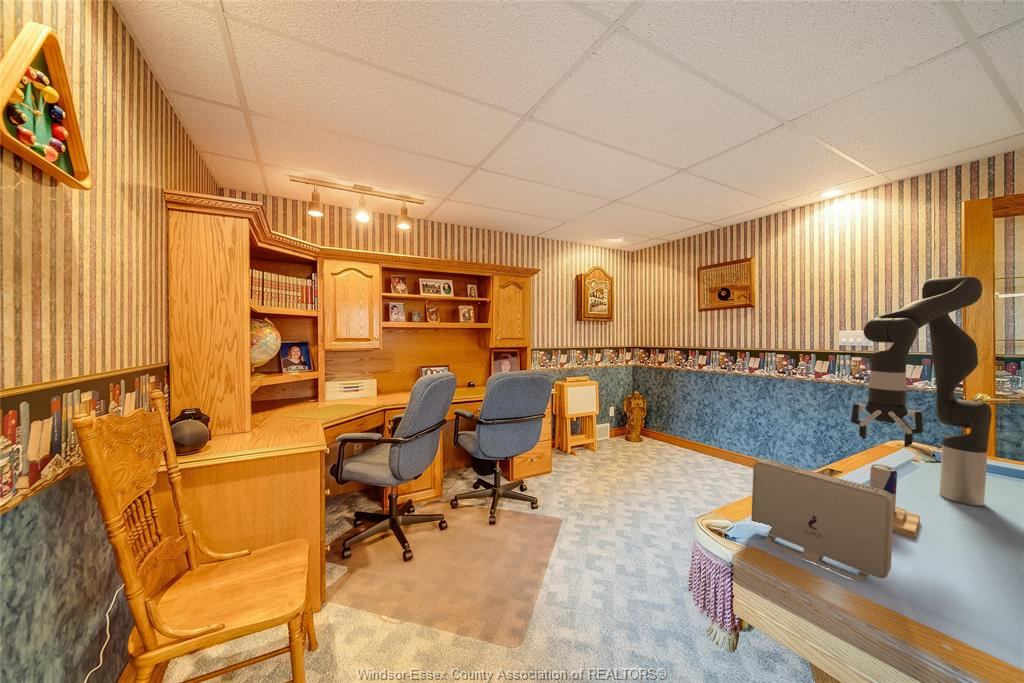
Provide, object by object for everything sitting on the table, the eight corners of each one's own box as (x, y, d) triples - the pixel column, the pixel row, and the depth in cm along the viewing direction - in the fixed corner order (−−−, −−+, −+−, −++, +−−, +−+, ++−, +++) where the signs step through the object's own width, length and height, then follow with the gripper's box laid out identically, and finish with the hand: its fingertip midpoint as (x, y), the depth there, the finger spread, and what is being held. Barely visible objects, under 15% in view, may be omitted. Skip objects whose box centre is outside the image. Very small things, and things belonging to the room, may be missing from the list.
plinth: (853, 503, 114) (853, 492, 114) (919, 522, 103) (920, 510, 103) (843, 516, 106) (844, 505, 105) (914, 539, 94) (915, 526, 94)
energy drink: (900, 513, 101) (902, 472, 101) (878, 511, 102) (880, 470, 102) (885, 504, 106) (887, 465, 106) (863, 502, 107) (865, 463, 107)
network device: (747, 535, 95) (750, 461, 94) (760, 525, 100) (763, 455, 99) (884, 594, 74) (889, 500, 73) (892, 578, 79) (896, 489, 79)
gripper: (925, 389, 100) (923, 446, 100) (856, 383, 111) (853, 434, 111) (923, 392, 95) (920, 451, 96) (850, 385, 106) (848, 438, 107)
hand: (884, 442), depth 104 cm, fingers open, 8 cm apart
